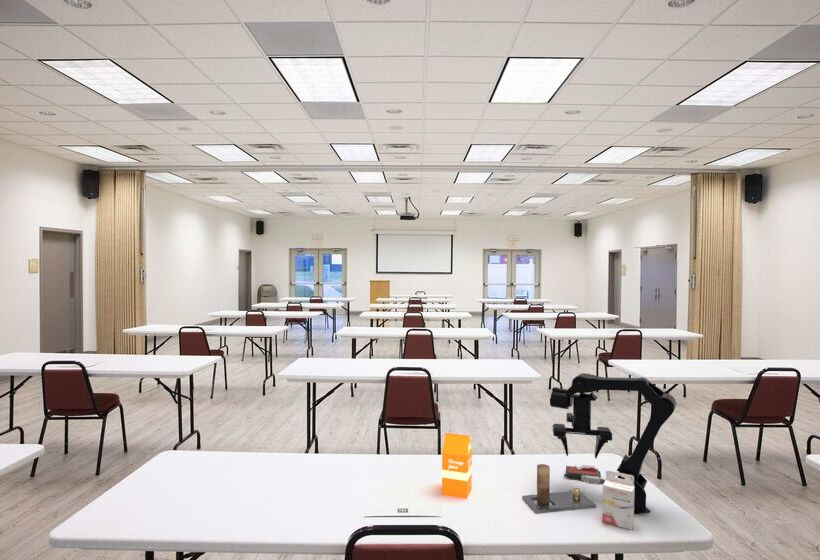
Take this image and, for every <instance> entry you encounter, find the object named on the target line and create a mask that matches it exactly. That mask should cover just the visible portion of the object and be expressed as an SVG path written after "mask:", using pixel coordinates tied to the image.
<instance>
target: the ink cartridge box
mask: <svg viewBox="0 0 820 560" xmlns="http://www.w3.org/2000/svg"><path fill="white" fill-rule="evenodd" d="M618 476H621V477H624V478H625V479H620V478H618ZM604 480H605V482H603V483H602V484H603V486H602V507H601V508H602V510H601V511H602V514H601V519H602V520H601V522H602V523H605V524H608V525H611V526H615V527H618V526H619V528H622V527H623V529H626V528H627V529H626V530H629V529H630V531H632V530H633V527H634V523H635V514H634V493H635V486H634V476H632V475H627V474H623V473H619V471H613V470H609V469H608V470H606V472H605V479H604Z"/></svg>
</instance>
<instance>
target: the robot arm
mask: <svg viewBox="0 0 820 560" xmlns="http://www.w3.org/2000/svg"><path fill="white" fill-rule="evenodd" d="M551 390H552V391H551V393H550V397H549V405H550V407H552V408H558V409H563V410H569V408H571V407H572V408H573V409H572V412H566V423H571V427H566V426H565V424H564V423H554V424H552V436H553V437H557V439H558V440H560V441H561V443H562V446H563V447H564V452H565V455H566V457H568V456H569V446H568V438H567V434H569V435H583V436H593V437H594V436H595V440H596V441H595V446H594V447H595V448H594V459H597V458H598V456H599V454H600V451H601V450H602V449H603V447H604V445H605V444H606V443H607V444H608V443H609V442H610V441H613V432H612V431H611V429H610V428H609V427H608V426H607V427H606V426H604V427H603V426H597V428H596V429H593V428H592V426H591V425H592V421H591V420H592V419H591V418H592V417H591V416H592V402H595V401H596V400H597V399H599V398H598V396H597V395H596V394H594V392H596V391H597V392H598V391H622V392H623V391H624V392H638V393H640V394H641V396H642V397H643V398H645V400H646V401H647V402H648V403H649V404H650V405H651V406H652V409H651V412H650V417H649V421H648V422H647V424H646V426H645V428H644V430H643V432H642V433H641V437H640V438H639V441H638V442H637V444H636V446H635V448H634V449H633V452H632V454H631V455H629V456H628V455H627V454H624V456H623V458H622V460H621V461H620V462H621V463H619V465H618V467H617V469H616V472H619V473H623V474H627V475H632V476H634V486H635V493H634V515H635V514H642V513H643V514H644V513H651V509H649V508H648V507H647V492H646V490H645V488H646V485H647V483H648V480H647V478H645V477H644V475H642V473H641V472H642V468H643V464H644V460H645V458H646V456H647V454H648V452H649V450H650V448H651V447H652V444H653V443H654V441H655V438H656V437H657V435H658V433H659V432H660V430H661V427H662V426H663V425H664V424H665V423H666V422H667V421H668V419H669V418H670V417H671V416H672V414H674V411H675V409H676V406H677V401H676V399H675V397H674V396H673V395H671V394H670V393H665V392H664V391H663V390H662V389H661V388H660V387H658V386H656V385H655V384H653V383H652V382H650V381H649V380H648V379H647V378H646V377H640V376H639V377H605V376H604V377H603V376H598V375H595V374H591V373H584V372H583V373H579V374H578V375H576V376H575V377H573V379H572V381H571V385H570V387H569V388H566V389H565V388H559V387H557V386H553V387H552V389H551ZM591 428H592V429H591ZM617 478H620V479H625V478H624V477H621V476H617Z"/></svg>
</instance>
